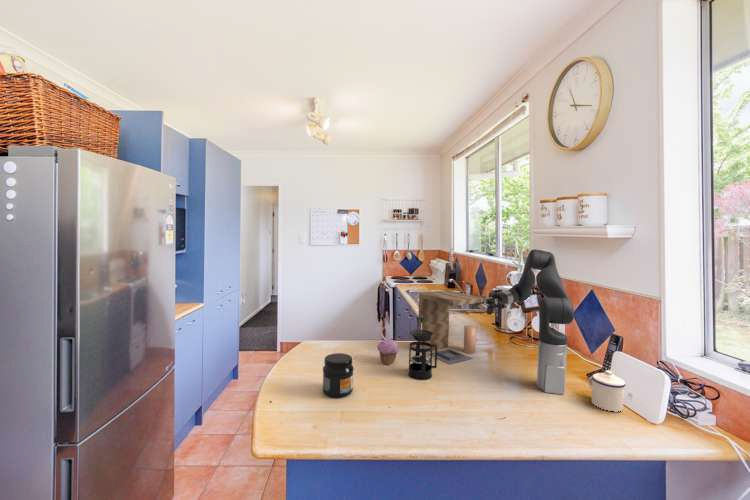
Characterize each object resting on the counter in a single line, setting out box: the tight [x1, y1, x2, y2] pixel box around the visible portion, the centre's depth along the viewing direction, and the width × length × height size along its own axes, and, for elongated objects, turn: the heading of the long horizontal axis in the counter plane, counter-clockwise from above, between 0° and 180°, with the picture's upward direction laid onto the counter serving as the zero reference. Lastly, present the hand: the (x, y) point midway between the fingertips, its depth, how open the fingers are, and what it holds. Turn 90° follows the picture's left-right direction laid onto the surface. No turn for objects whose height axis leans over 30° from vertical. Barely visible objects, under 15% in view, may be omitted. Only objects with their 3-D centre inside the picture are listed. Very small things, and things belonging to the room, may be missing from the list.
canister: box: [462, 324, 477, 355], centre depth 160 cm, size 6×6×12 cm
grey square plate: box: [427, 348, 473, 365], centre depth 153 cm, size 14×14×2 cm
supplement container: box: [322, 352, 355, 399], centre depth 116 cm, size 10×10×12 cm
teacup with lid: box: [587, 369, 626, 413], centre depth 112 cm, size 12×9×12 cm
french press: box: [407, 316, 438, 381], centre depth 132 cm, size 12×9×23 cm
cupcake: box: [377, 339, 399, 366], centre depth 144 cm, size 9×9×10 cm
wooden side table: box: [417, 290, 483, 354], centre depth 153 cm, size 18×22×28 cm
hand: (482, 305), depth 165 cm, fingers open, 8 cm apart
